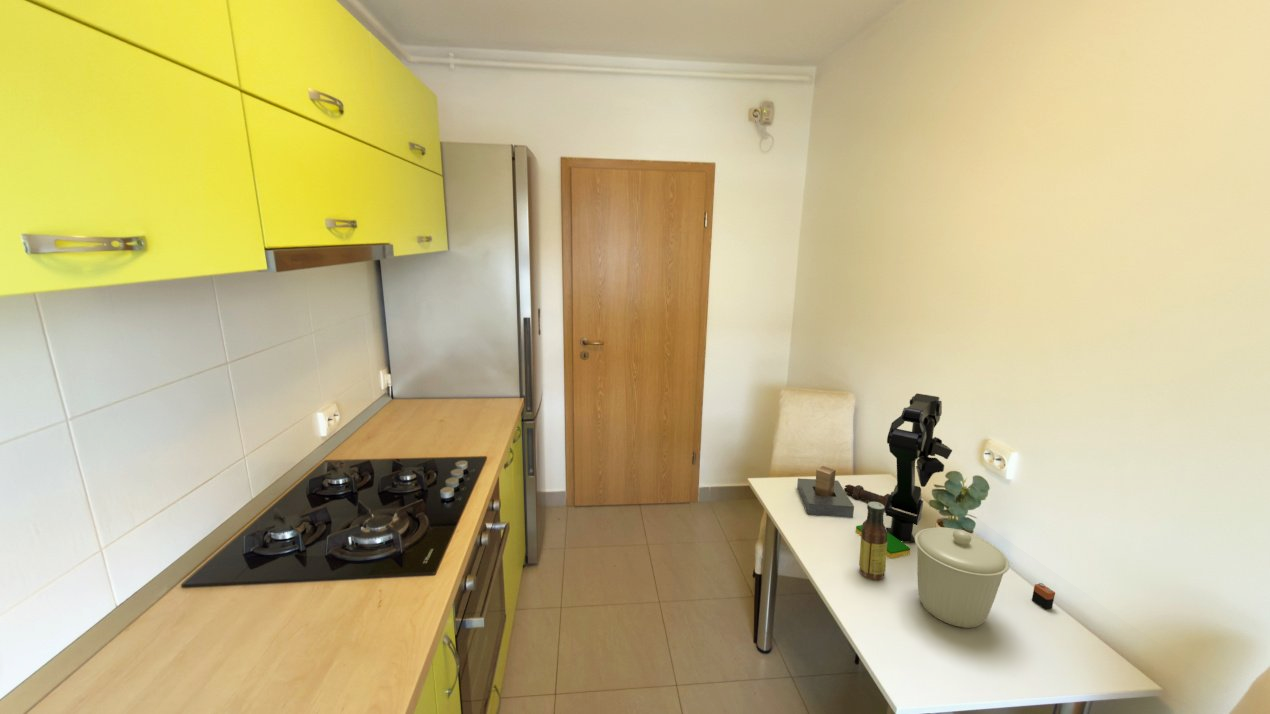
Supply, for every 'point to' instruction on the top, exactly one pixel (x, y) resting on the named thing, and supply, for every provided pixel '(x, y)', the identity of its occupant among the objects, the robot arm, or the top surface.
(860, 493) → the bolt
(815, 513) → the hole plate
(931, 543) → the canister
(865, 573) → the sauce bottle
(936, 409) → the robot arm
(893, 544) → the dish sponge
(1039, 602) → the battery
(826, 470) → the walnut block
